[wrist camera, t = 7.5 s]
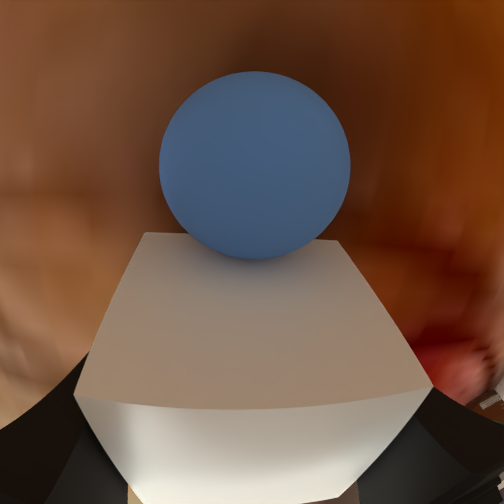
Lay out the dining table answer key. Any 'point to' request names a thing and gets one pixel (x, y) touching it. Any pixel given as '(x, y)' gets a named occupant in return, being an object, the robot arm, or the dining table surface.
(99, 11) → the dining table surface
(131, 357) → the white cube block
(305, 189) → the ball
